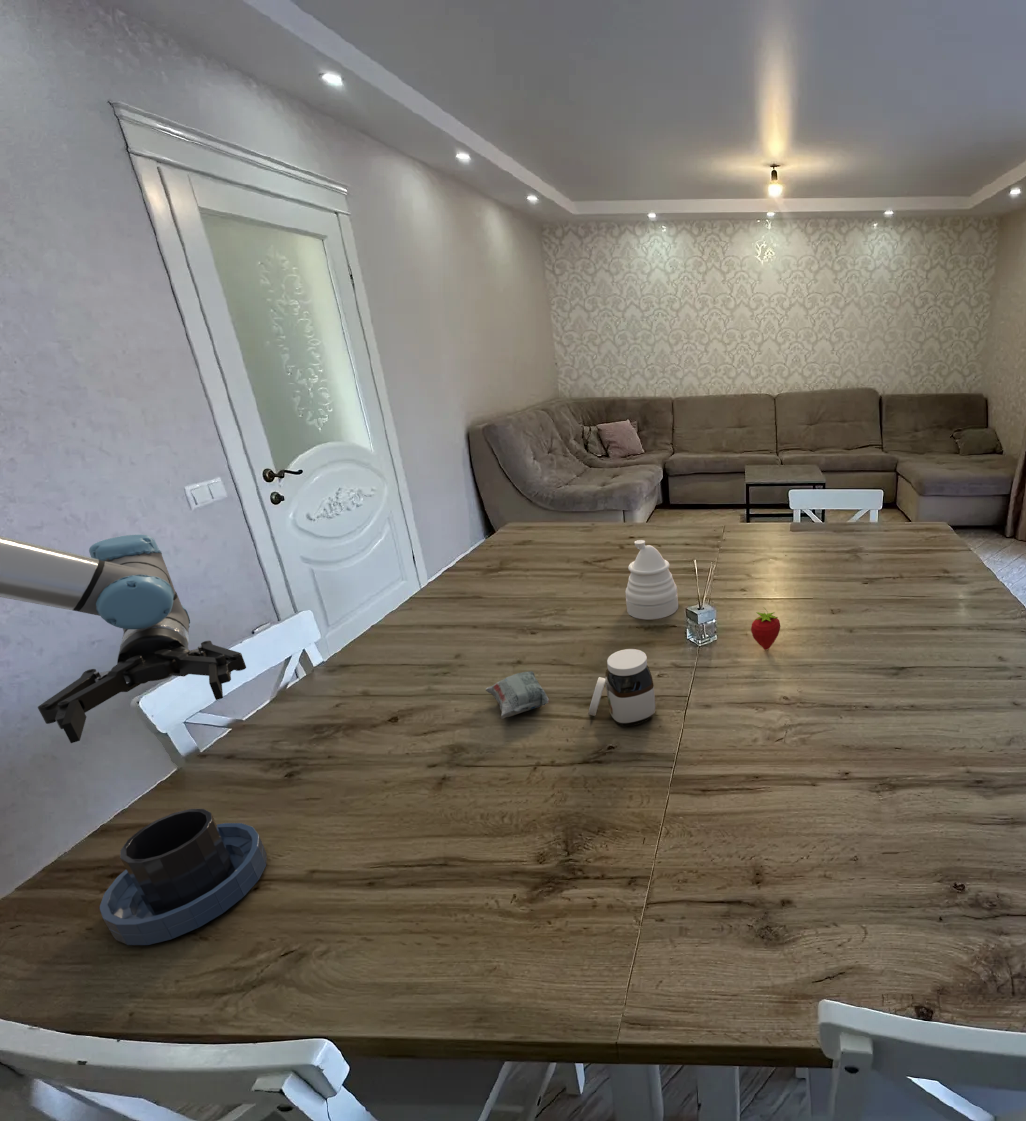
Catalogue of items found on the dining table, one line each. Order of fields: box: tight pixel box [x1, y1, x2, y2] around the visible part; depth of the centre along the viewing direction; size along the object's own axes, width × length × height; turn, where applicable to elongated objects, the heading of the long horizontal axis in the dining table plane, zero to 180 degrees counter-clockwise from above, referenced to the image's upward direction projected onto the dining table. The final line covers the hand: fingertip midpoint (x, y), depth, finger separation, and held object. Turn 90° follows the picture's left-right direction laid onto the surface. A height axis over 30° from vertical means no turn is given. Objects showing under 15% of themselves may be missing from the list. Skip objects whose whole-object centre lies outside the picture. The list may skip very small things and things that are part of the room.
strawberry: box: [750, 608, 782, 651], centre depth 126 cm, size 6×8×10 cm
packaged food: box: [485, 670, 550, 720], centre depth 108 cm, size 9×12×5 cm
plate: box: [99, 822, 268, 946], centre depth 72 cm, size 14×14×4 cm
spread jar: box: [587, 648, 656, 727], centre depth 104 cm, size 12×11×12 cm
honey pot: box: [624, 539, 679, 620], centre depth 144 cm, size 13×13×18 cm
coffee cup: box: [119, 808, 235, 916], centre depth 71 cm, size 8×8×9 cm
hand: (147, 710), depth 76 cm, fingers open, 13 cm apart
